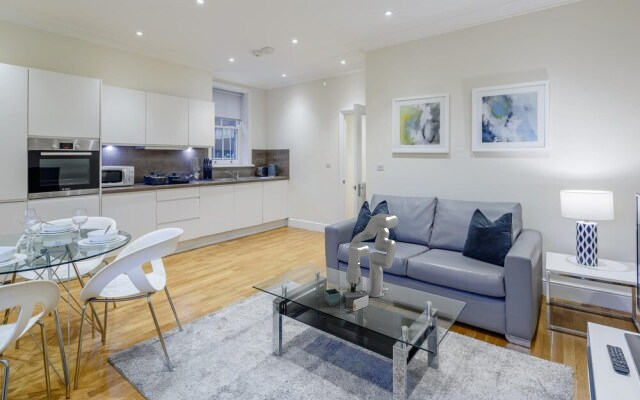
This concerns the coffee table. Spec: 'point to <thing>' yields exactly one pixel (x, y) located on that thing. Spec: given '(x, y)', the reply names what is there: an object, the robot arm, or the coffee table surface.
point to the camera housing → (352, 297)
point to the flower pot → (332, 296)
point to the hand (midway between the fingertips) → (353, 291)
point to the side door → (360, 303)
